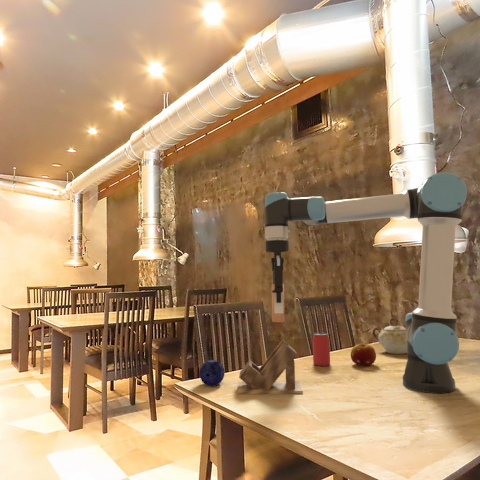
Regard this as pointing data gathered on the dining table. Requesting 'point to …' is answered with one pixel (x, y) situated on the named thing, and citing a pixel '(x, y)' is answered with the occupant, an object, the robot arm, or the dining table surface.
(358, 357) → the fruit
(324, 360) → the beer can
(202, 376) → the ball
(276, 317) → the peg
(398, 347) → the sugar bowl
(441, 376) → the robot arm
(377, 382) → the dining table surface
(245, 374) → the socket
